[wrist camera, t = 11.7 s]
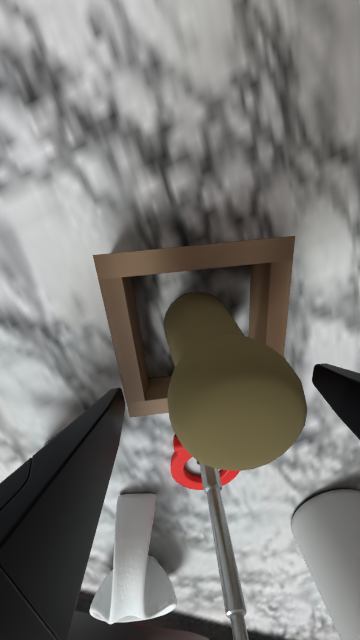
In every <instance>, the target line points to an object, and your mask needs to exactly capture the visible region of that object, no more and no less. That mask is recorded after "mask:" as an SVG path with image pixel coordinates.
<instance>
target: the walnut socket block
mask: <svg viewBox="0 0 360 640" xmlns="http://www.w3.org/2000/svg"><path fill="white" fill-rule="evenodd" d="M294 242H295V236H289V237H279V238H268V239H258V240H247V241H237V242H226V243H216V244H205V245H195V246H184V247H174V248H163V249H153V250H142V251H132V252H121V253H111V254H100V255H93V258H94V262H95V267H96V271H97V275H98V280H99V284H100V289H101V293H102V297H103V302H104V306H105V310H106V315H107V319H108V323H109V328H110V332H111V336H112V341H113V345H114V350H115V354H116V358H117V363H118V367H119V371H120V376H121V380H122V384H123V389H124V393H125V398H126V402H127V406H128V411H129V415H130V417H137V416H145V415H153V414H161V413H169V410H168V402H167V401H168V389H169V385H170V381H171V377H172V376H167V377H158V378H150V379H149V376H148V370H147V364H146V359H145V353H144V347H143V341H142V336H141V330H140V324H139V318H138V312H137V307H136V301H135V295H134V289H133V284H132V278H131V276H140V275H150V274H160V273H170V272H180V271H190V270H200V269H210V268H220V267H230V266H240V265H250V264H251V281H250V317H249V337H250V338H253V339H256V340H259V341H261V342H262V343H264V344H266V345H267V346H269V347H271V348H272V349H274V350H275V351H277V352H278V353H279V354H281V355H282V356H283V357H284V346H285V336H286V325H287V315H288V305H289V294H290V284H291V273H292V263H293V253H294Z"/></svg>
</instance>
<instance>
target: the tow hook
mask: <svg viewBox="0 0 360 640" xmlns="http://www.w3.org/2000/svg"><path fill="white" fill-rule="evenodd" d="M173 445H174V450H175V453H174V455H173V457H172V459H171V473H172V477H173V478H174V479H175V481H176V482H178V483H179V484H180V485H182V486H184V487H187V488H189V489H195V490H204V492H205V493H206V494H207V498H208V504H209V510H210V517H211V523H212V529H213V536H214V542H215V548H216V555H217V561H218V567H219V574H220V580H221V586H222V593H223V599H224V605H225V611H226V616H227V617H228V618H230V620H231V626H232V631H233V637H234V640H249V639H248V635H247V630H246V625H245V620H244V616H245V615H246V607H245V603H244V598H243V594H242V589H241V584H240V580H239V575H238V570H237V566H236V561H235V557H234V552H233V547H232V543H231V538H230V534H229V529H228V524H227V520H226V515H225V511H224V506H223V501H222V497H221V490H222V486H223V485H225V484H226V483H228V482H230V481H231V480H232V479H234V478H235V477H236V476H237V474H238V473H239V471H232V470H221V471H218V469H215V468H213V467H210V466H207V465H205V464H202V463H200V462H199V461H198V460H197V464H200V467H201V468H200V470H201V476H196V475H192V474H190V473H188V472H187V471H186V470H185V468H184V465H185V463H186V462H187V461H188V460H189V459H190V458H191V457H193V456H191V455H190V454H189V453H188V452H187V450H186V449H185V448H184V447H183V446H182V444H181V443H180V441H179V439H178V437H177V436H176V437H174V439H173Z"/></svg>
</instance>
